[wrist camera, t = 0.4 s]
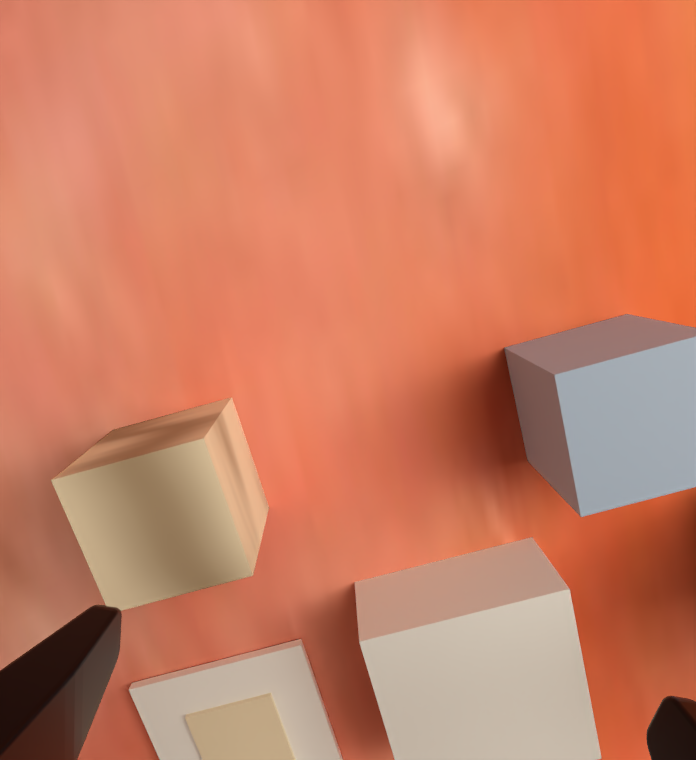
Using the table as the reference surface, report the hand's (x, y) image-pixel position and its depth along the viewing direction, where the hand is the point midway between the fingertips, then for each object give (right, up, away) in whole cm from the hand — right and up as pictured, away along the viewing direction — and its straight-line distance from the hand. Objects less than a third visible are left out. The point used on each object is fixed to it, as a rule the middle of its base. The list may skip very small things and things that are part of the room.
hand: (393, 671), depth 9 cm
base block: (+4, -7, +16) cm, 18 cm away
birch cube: (-7, +1, +13) cm, 15 cm away
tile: (-6, -12, +16) cm, 21 cm away
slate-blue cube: (+9, +4, +13) cm, 16 cm away
